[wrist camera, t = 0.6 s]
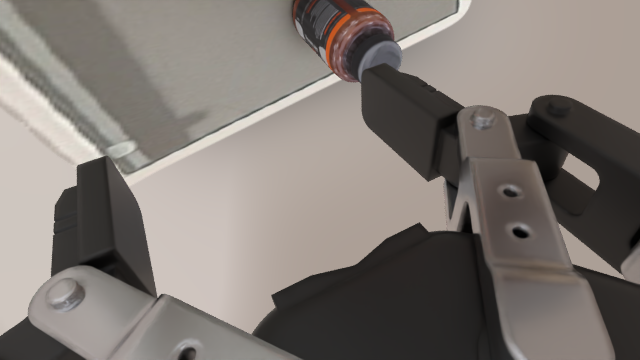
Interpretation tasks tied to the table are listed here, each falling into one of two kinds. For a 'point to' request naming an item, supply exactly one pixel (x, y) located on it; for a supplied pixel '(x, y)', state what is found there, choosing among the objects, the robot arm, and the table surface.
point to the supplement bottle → (347, 35)
